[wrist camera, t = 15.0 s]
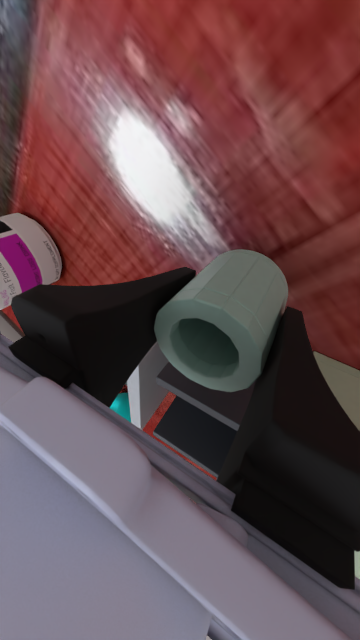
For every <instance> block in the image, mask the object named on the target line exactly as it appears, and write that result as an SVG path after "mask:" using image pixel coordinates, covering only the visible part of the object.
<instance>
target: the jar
mask: <svg viewBox="0 0 360 640" xmlns="http://www.w3.org/2000/svg"><path fill="white" fill-rule="evenodd" d="M287 298H288V285H287V282H286V279H285V276H284V274H283V273H282V271H281V270H280V268H279V267H278V266H277V265H276V264H275V263H274V262H273V261H272V260H271V259H269V258H268V257H266V256H265V255H263V254H261V253H258V252H255V251H251V250H244V249H238V250H231V251H228V252H225V253H223V254H221V255H219V256H218V257H216V258H215V259H214V260H213V261H212V262H211V263H209V264H208V265H207V266H206V267H205V268H204V269H203V270H202V271H201V272H200V273H199V274H197V275H196V276H195V277H194V278H193V279H192V280H191V281H190V282H189V283H188V284H187V285H186V286H185V287H184V288H182V289H181V290H180V291H179V292H178V293H177V294H176V295H175V296H174V297H173V298H172V299H171V300H170V301H169V302H167V303H166V304H165V305H164V306H163V307H162V308H161V309H160V310H159V311H158V313H157V315H156V320H155V325H154V332H155V335H156V338H157V342H158V345H159V347H160V349H161V351H162V352H163V354H164V355H165V356H166V358H167V359H168V361H169V362H170V363H171V364H172V365H173V366H174V367H175V368H176V369H177V370H179V371H180V372H181V373H182V374H183V375H185V376H186V377H187V378H189V379H190V380H192V381H194V382H196V383H199V384H201V385H203V386H205V387H207V388H210V389H214V390H220V391H226V392H234V391H238V390H243V389H247V388H249V387H250V386H251V385H252V384H253V383H254V382H255V381H256V380H257V378H258V377H259V376H260V375H261V374H262V371H263V368H264V366H265V363H266V360H267V357H268V355H269V352H270V349H271V346H272V344H273V341H274V338H275V335H276V332H277V328H278V326H279V323H280V320H281V318H282V315H283V314H284V311H285V307H286V302H287Z"/></svg>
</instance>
